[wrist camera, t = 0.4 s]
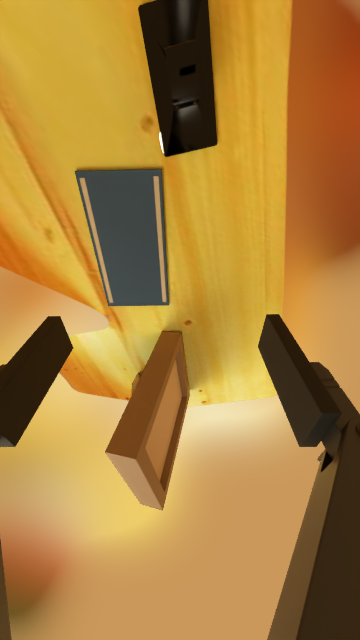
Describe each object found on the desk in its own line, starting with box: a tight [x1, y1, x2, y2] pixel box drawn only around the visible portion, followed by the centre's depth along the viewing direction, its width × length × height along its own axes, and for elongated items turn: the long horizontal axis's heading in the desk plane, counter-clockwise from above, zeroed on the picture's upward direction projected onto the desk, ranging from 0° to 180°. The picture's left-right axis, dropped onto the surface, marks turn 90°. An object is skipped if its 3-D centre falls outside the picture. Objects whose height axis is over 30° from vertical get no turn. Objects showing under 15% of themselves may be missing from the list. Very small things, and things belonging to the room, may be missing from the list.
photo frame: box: [105, 331, 190, 510], centre depth 43 cm, size 15×22×25 cm
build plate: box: [138, 0, 217, 157], centre depth 23 cm, size 12×7×5 cm, turn 10°
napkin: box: [75, 169, 169, 306], centre depth 36 cm, size 22×12×1 cm, turn 1°
